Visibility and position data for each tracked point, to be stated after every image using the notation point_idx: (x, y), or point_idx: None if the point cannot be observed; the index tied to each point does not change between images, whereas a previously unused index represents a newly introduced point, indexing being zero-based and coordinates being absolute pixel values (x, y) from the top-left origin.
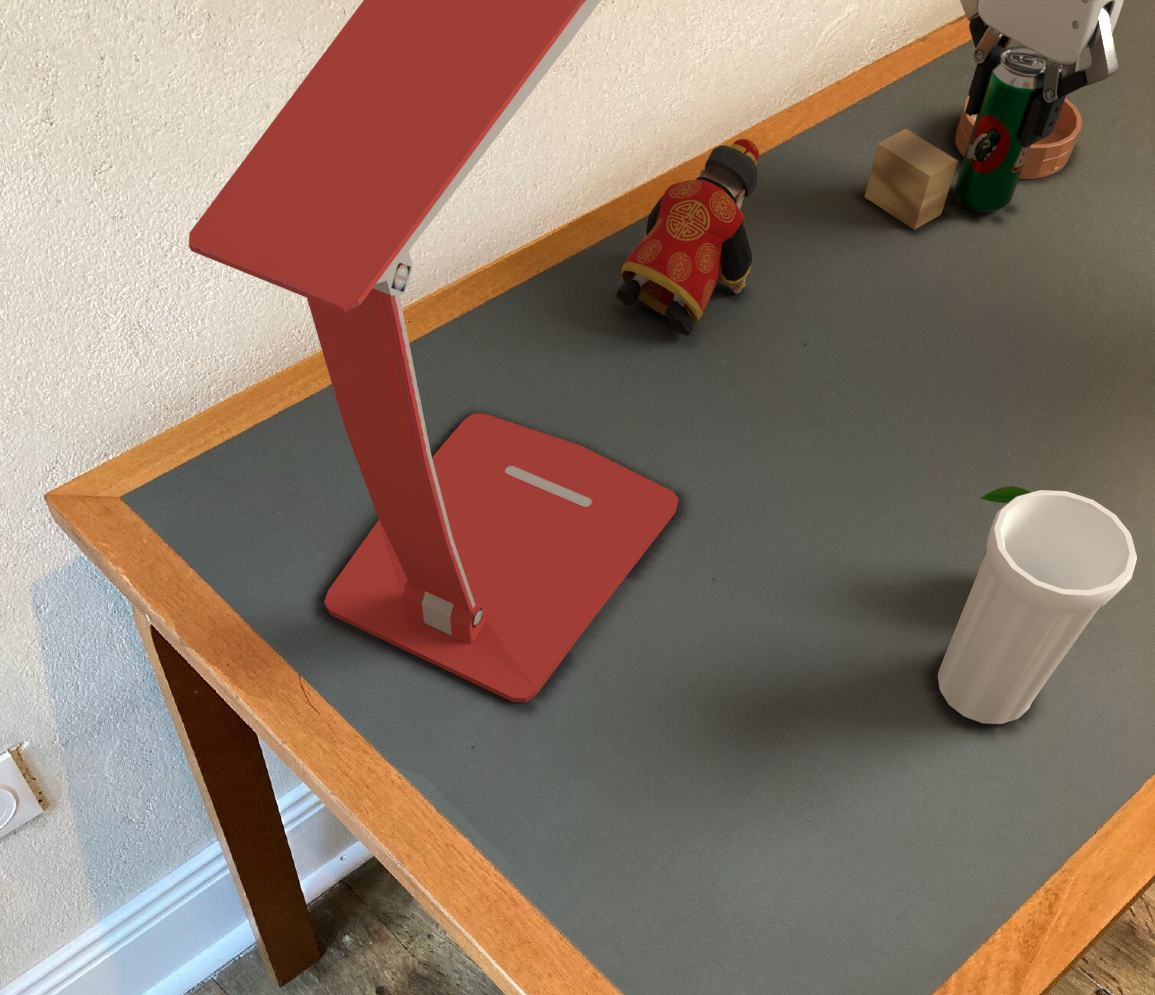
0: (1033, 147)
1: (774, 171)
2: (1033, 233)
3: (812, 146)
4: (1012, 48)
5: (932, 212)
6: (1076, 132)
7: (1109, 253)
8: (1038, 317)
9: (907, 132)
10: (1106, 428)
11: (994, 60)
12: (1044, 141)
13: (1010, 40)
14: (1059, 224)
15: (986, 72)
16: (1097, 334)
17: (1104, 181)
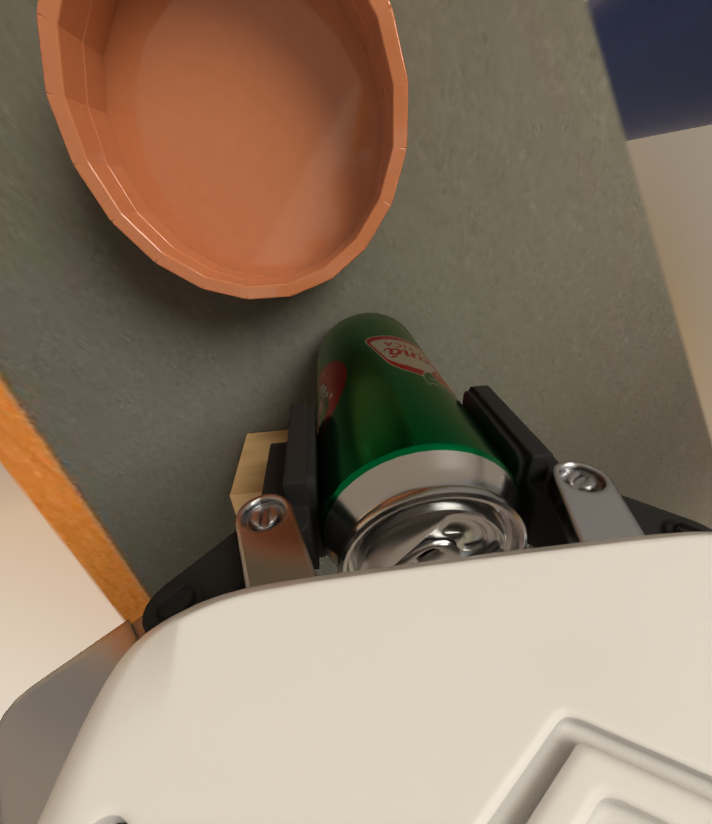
0: (370, 236)
1: (150, 534)
2: (472, 338)
3: (105, 470)
4: (347, 558)
5: None
6: (396, 49)
7: (595, 269)
8: (565, 452)
9: (241, 499)
10: (686, 499)
11: (314, 547)
12: (294, 53)
13: (302, 538)
14: (491, 281)
15: (325, 552)
16: (638, 418)
17: (486, 42)
